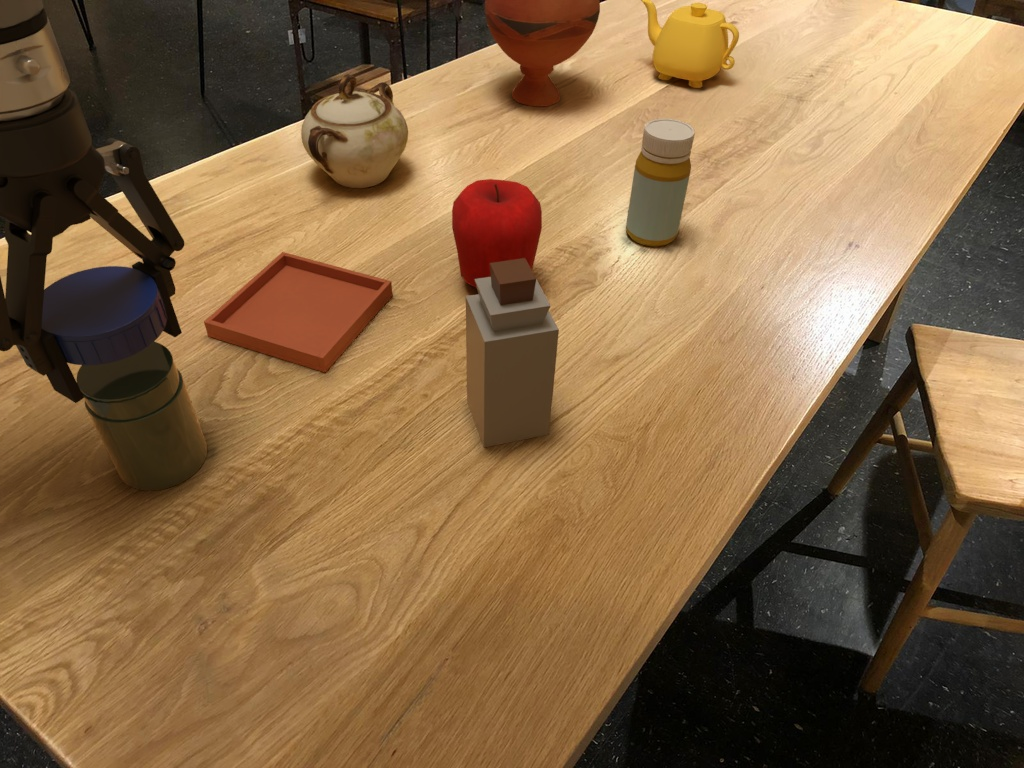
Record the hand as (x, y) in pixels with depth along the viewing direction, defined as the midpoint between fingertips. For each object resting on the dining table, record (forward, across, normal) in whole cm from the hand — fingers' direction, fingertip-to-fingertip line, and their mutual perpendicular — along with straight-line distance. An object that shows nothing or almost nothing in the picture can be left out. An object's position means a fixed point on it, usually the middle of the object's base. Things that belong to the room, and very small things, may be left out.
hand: (120, 360), depth 64 cm
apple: (+12, +42, -11) cm, 45 cm away
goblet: (+13, +93, +13) cm, 95 cm away
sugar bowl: (+13, +53, +20) cm, 58 cm away
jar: (+12, 0, 0) cm, 12 cm away
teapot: (+12, +118, -4) cm, 119 cm away
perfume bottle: (+12, +23, -25) cm, 36 cm away
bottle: (+12, +63, -23) cm, 68 cm away
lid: (-6, 0, 0) cm, 6 cm away
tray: (+12, +24, +4) cm, 27 cm away
